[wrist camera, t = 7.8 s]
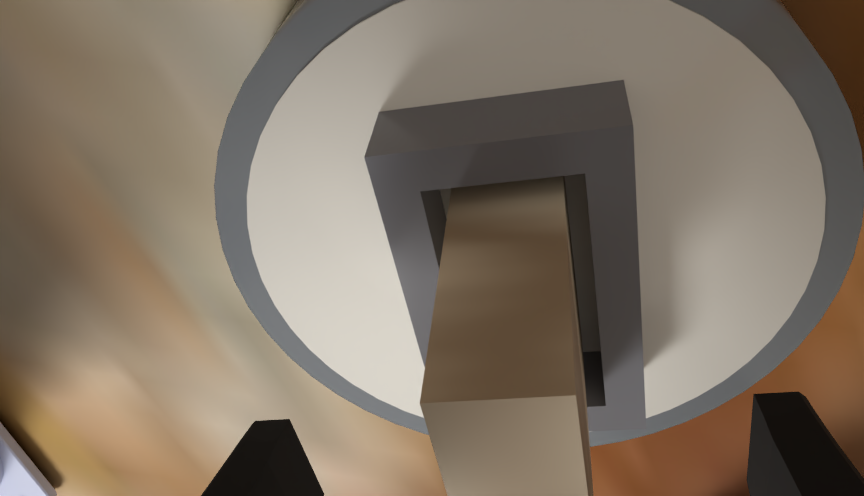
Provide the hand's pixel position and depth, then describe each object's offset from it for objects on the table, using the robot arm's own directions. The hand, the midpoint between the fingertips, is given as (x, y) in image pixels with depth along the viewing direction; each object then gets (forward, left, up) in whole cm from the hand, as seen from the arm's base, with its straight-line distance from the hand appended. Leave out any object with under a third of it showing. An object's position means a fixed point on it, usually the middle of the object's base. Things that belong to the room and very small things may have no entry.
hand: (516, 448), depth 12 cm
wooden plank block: (0, 0, -5) cm, 5 cm away
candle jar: (0, 0, -7) cm, 7 cm away
